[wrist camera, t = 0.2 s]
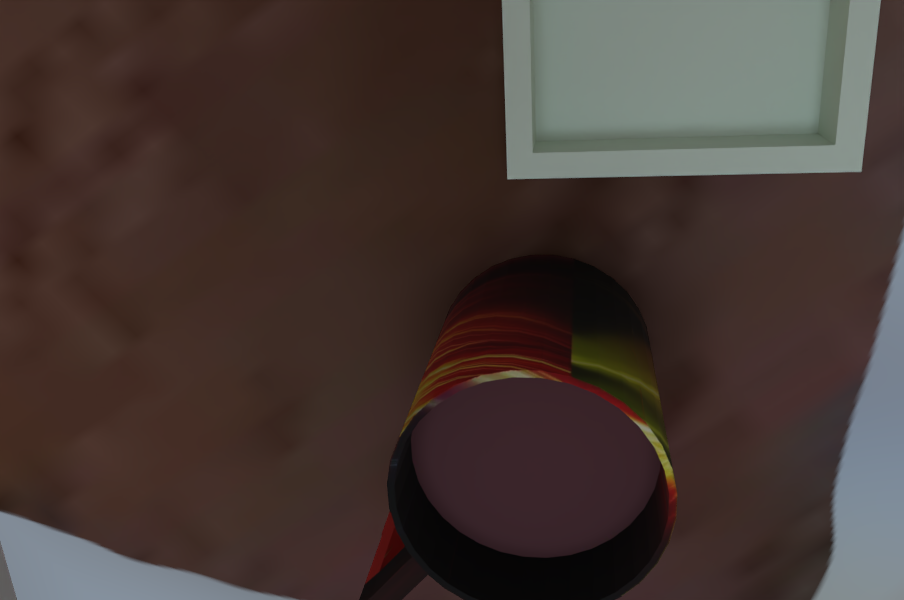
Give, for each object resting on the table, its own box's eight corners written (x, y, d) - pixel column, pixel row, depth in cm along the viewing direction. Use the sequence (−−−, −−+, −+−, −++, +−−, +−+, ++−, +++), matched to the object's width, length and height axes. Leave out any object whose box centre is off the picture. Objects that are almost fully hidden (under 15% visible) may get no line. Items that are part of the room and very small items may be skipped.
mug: (400, 483, 43) (337, 658, 32) (468, 228, 38) (421, 333, 27) (586, 538, 43) (587, 735, 32) (680, 288, 38) (721, 419, 27)
